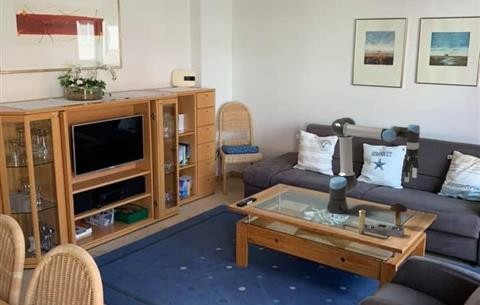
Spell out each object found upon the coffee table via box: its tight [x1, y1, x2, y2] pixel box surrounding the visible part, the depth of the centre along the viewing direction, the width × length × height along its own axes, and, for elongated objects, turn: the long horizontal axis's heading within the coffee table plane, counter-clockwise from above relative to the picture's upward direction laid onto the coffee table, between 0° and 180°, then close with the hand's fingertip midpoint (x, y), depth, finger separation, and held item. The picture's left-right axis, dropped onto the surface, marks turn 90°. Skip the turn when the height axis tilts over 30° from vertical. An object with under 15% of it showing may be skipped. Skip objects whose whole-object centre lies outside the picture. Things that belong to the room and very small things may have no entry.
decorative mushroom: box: [389, 202, 408, 227], centre depth 319 cm, size 11×11×15 cm
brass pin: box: [358, 209, 367, 236], centre depth 306 cm, size 4×4×15 cm
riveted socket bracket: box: [364, 223, 405, 238], centre depth 309 cm, size 25×7×5 cm, turn 57°
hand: (410, 179), depth 329 cm, fingers open, 13 cm apart
